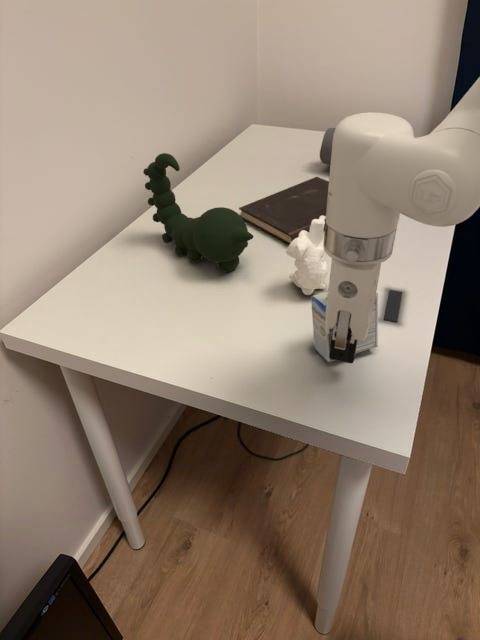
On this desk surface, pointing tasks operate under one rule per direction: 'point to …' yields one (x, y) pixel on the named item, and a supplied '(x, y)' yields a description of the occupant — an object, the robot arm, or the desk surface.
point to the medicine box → (324, 339)
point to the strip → (393, 306)
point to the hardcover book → (289, 209)
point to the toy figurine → (195, 222)
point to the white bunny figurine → (309, 258)
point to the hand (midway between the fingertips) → (341, 357)
